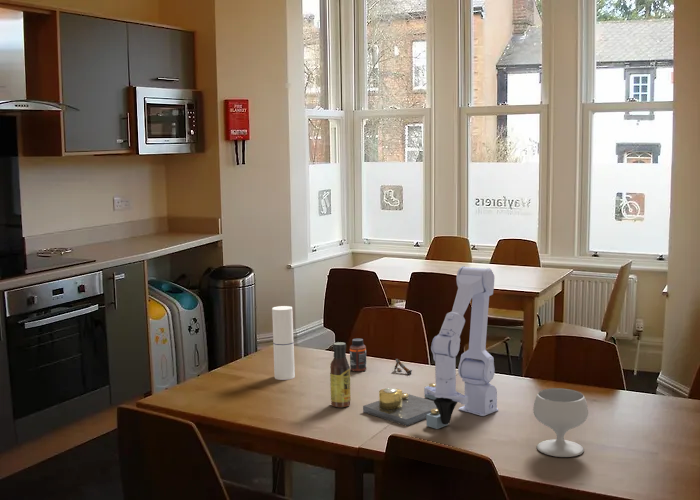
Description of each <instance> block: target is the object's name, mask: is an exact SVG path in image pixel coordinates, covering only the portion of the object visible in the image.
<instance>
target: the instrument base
mask: <svg viewBox="0 0 700 500" xmlns="http://www.w3.org/2000/svg"><path fill="white" fill-rule="evenodd" d="M378 398H379V399H378V400H376V401H373V402H371V403H368V404H367V403H366V404H365V405H362V412H363V413H364V414H368V415H370V416H374V417H377V418H381V419H384V420H387V421H389V422H393V423H396V424H399V423H400V424H399V425H403V426H405V425H406V426H407V427H408V426H410V424H411V425H413V424H415V423H418V422H420V421H424V420H426V414H429V413H431V409H437V407H436V405H435V403H434V400H432V399H429V398H425V397H420V396H416V395H413V394H410V393H407V392H403V390H402V389H399V388H395V387H386V388H382V389H380V390H378Z"/></svg>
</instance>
